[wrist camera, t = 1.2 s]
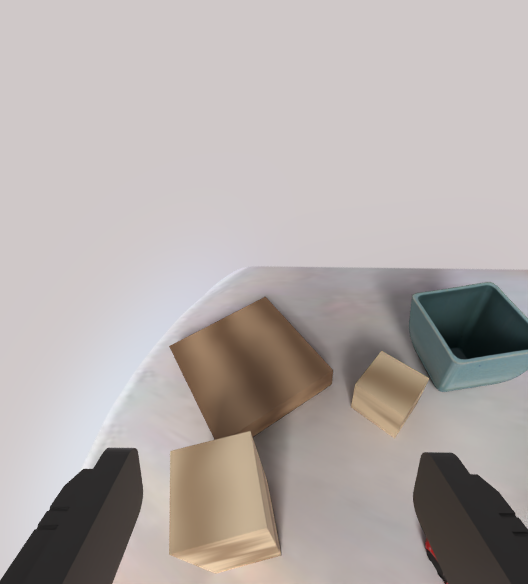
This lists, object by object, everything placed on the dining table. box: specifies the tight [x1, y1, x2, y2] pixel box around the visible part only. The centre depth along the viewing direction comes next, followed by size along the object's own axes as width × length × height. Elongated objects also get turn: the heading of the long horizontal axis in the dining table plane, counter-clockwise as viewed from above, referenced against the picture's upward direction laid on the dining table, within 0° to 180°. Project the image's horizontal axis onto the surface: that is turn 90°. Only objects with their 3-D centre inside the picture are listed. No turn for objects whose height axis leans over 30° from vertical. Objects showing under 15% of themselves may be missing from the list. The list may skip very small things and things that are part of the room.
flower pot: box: [409, 282, 528, 392], centre depth 33 cm, size 9×9×9 cm
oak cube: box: [351, 351, 429, 438], centre depth 32 cm, size 5×5×5 cm
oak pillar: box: [169, 431, 281, 574], centre depth 24 cm, size 6×6×12 cm
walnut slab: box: [169, 297, 333, 440], centre depth 38 cm, size 14×14×3 cm
